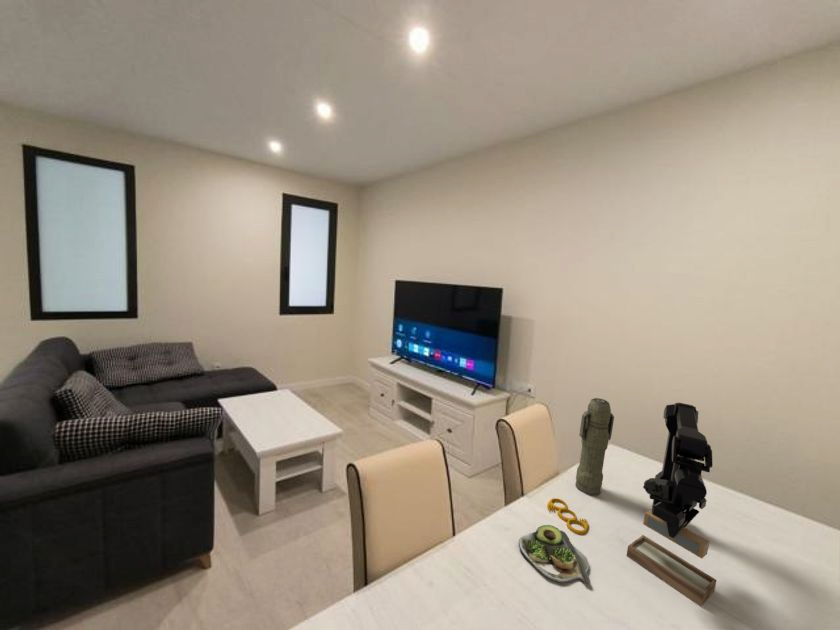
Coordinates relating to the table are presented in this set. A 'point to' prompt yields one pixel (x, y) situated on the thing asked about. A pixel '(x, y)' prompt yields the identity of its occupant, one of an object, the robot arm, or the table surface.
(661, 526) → the tan rectangular block
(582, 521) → the gold linked rings
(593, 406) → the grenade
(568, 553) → the salad plate
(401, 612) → the table surface
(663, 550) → the brown picture frame
